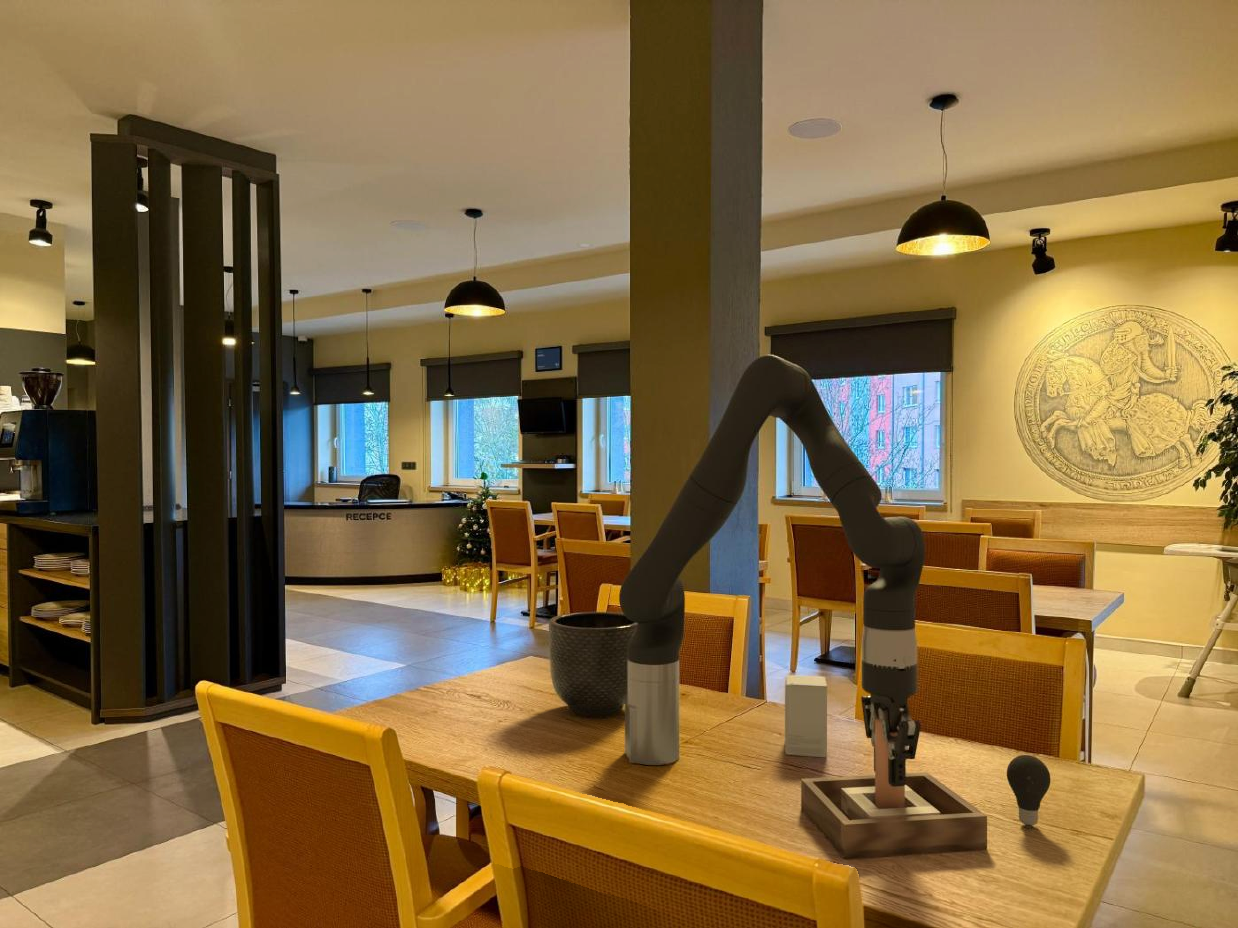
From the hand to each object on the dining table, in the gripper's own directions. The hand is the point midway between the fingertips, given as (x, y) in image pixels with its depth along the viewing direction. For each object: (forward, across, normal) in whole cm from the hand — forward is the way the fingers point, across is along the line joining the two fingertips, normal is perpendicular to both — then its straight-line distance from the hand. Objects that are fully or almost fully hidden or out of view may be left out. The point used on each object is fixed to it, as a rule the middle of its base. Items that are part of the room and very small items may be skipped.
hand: (889, 778), depth 118 cm
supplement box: (+7, -33, 0) cm, 34 cm away
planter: (+7, -62, -35) cm, 72 cm away
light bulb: (+7, +2, +20) cm, 21 cm away
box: (+7, 0, 0) cm, 7 cm away
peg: (+4, 0, 0) cm, 4 cm away
